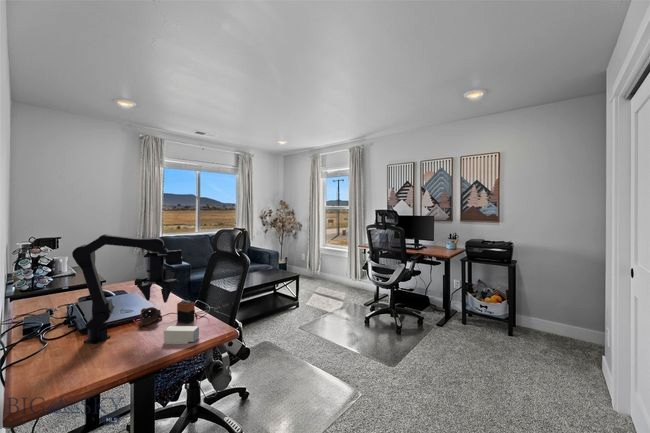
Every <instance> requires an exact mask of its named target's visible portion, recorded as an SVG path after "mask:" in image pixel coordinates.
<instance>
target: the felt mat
mask: <svg viewBox="0 0 650 433" xmlns="http://www.w3.org/2000/svg"><path fill="white" fill-rule="evenodd" d="M188 344H189V342H164V344H163V345H188Z"/></svg>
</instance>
